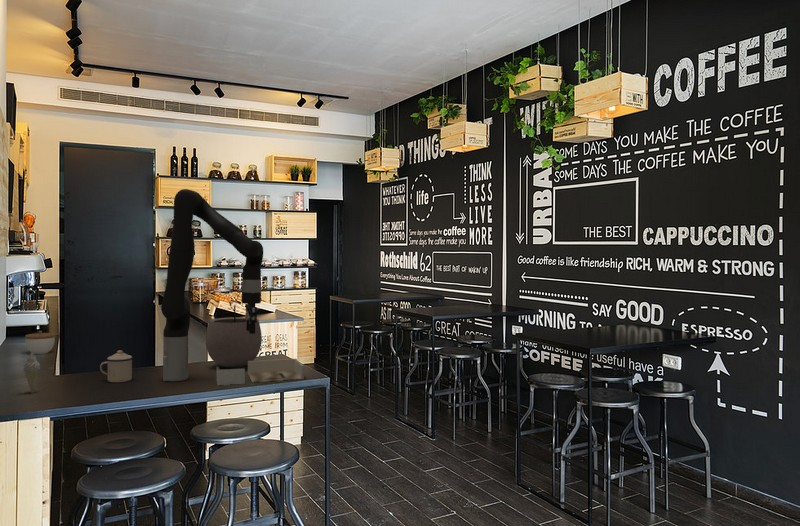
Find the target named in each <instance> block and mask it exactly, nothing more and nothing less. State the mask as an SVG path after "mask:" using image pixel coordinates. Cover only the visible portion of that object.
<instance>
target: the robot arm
mask: <svg viewBox="0 0 800 526" xmlns="http://www.w3.org/2000/svg"><path fill="white" fill-rule="evenodd" d="M195 216H196V217H197V218H199V219H200V220H202V221H203V222H205V223H206V225H209V227H210V228H211V229H212V230H213V231H214V232H215V233H216V234H217V235H218V236H219V237H220V238H222V239H223V240H224V241H226V242H227V243H228V244H229V245H231V246H233V248H234V249H235V250H236V251H237V252H238V253H239V254H241V255H242V256H243V257H245V264H244V265H243V268H242V282H241V303H242V304H245V313H244V315H245V318H246V321H247V323H246V330H247V331H249V333H250V334H255V324H256V323H257V319H258V317H257V315H258V308H257V307H256V304H261V303H262V279H261V278H262V264H263V259H264V247H263V245H262V243H261V242H260V241H258V240H253V239H251V238H250V237H249V236H247V235H246V234H245V233H244V231H243V230H242V229H241V228H239V227H238V226H237V225H236V224H234V223H233V222H232V221H230V220H228V218H226V217H225V216H223V215H222V214H220V213H219V212H218V211H217V210H215V208H213V207H212V206H211V205H210V203H209V202H207V200H206V199H205V198H204V197H203V196H202V195H201V194H200V193H199V192H197V191H195V190H192V189H188V188H182V189H180V190H179V191H178V192H176V194H175V196H174V199H173V224H172V231H171V239H170V246H169V253H168V261H167V272H166V284H165V289H164V293H163V298H162V300H161V301H162V302H161V305H160V306H161V307H160V309H161V314H162V315H163V317H164V318H166V319H165V326H164V328H163V333H162V335H163V337H162V338H163V347H162V348H163V352H162V353H163V357H162V381H163V382H179V381H180V382H181V381H185V380H188V379H189V331H190V322H191V304H190V301H189V300H188V299H187V297H186V296H185V295H186V293H185V292H186V284H187V281H188V278H189V276H190V273H191V270H192V268H193V265H194V258H195V251H196V250H195V247H196V245H195V239H194V233H193V219H194V217H195ZM253 319H254V320H253Z"/></svg>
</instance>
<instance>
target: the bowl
mask: <svg viewBox="0 0 800 526" xmlns="http://www.w3.org/2000/svg"><path fill="white" fill-rule="evenodd" d="M55 337H56V334H55V333H53V332H43V331H42V330H38V333H28V334H25V337H24V338H25V346H26V348H27V350H28V352H30V353H31V351H32V352H33V354H34V355H44V354H45V355H47V354H49V353H50V352H51V350H52V349H53V347H54V345H55Z"/></svg>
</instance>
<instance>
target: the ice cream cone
mask: <svg viewBox="0 0 800 526" xmlns="http://www.w3.org/2000/svg"><path fill="white" fill-rule="evenodd" d="M40 367H41V364H40V363H39V361H37V357H36V355H35V354H33V352H32V351H31V352H30V353H29V355H28V357H27V361H26V362H25V363H24V365H23V372H24V374H25V377H26V381H27V383H28V385H29V389H30V392H31V393H34V391H35V388H36V384H37V382H38V377H39V374H40V371H41V368H40Z"/></svg>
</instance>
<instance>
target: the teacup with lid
mask: <svg viewBox="0 0 800 526" xmlns="http://www.w3.org/2000/svg"><path fill="white" fill-rule="evenodd" d="M106 360H107V361H103V362H101V364H100V365H99V370H100V372H101V373H102V374H103V375H106V376H107V382H109V383H125V382H130V381H132V379H133V363H132V362H133V356H132V355H129V354H127V353H125V352H124V351H123V350H117V351H116V353H114V354H113V355H110V356H108V357H107V359H106ZM105 364H106V365H107V371H105V370H104V369H103V366H104V365H105Z"/></svg>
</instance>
